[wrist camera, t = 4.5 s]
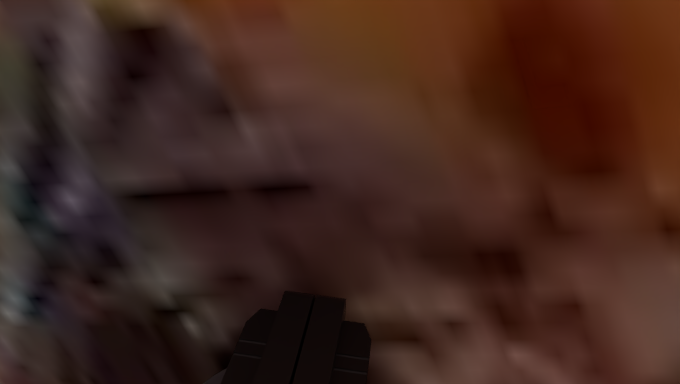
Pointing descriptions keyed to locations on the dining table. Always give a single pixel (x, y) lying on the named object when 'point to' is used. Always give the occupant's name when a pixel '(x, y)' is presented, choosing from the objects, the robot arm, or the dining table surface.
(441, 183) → the dining table surface
